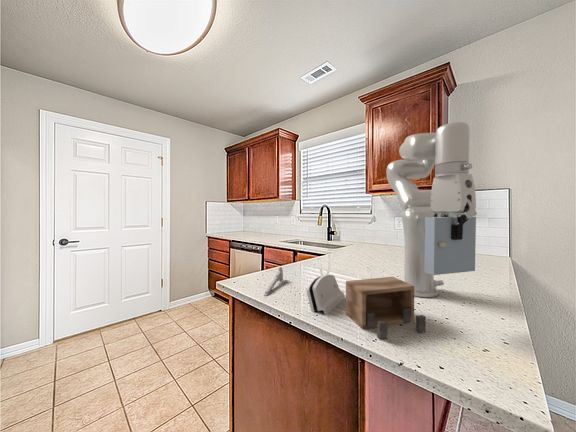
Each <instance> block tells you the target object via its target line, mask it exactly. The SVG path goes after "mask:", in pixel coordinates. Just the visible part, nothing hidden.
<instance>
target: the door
mask: <svg viewBox="0 0 576 432" xmlns="http://www.w3.org/2000/svg"><path fill="white" fill-rule="evenodd" d="M451 225H454V224H453V217H425V272H426V273H429V274H432V275H434V276H438V275H439V276H440V275H449V274H458V273H468V272H470V273H471V272H475V271H476V239H477V238H476V237H477V233H476V232H477V216H473V217H471V218H469V219H468V220H467V221H466V223H465V224H464V225H463V238H462V239H461V240H452V239H451Z"/></svg>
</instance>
